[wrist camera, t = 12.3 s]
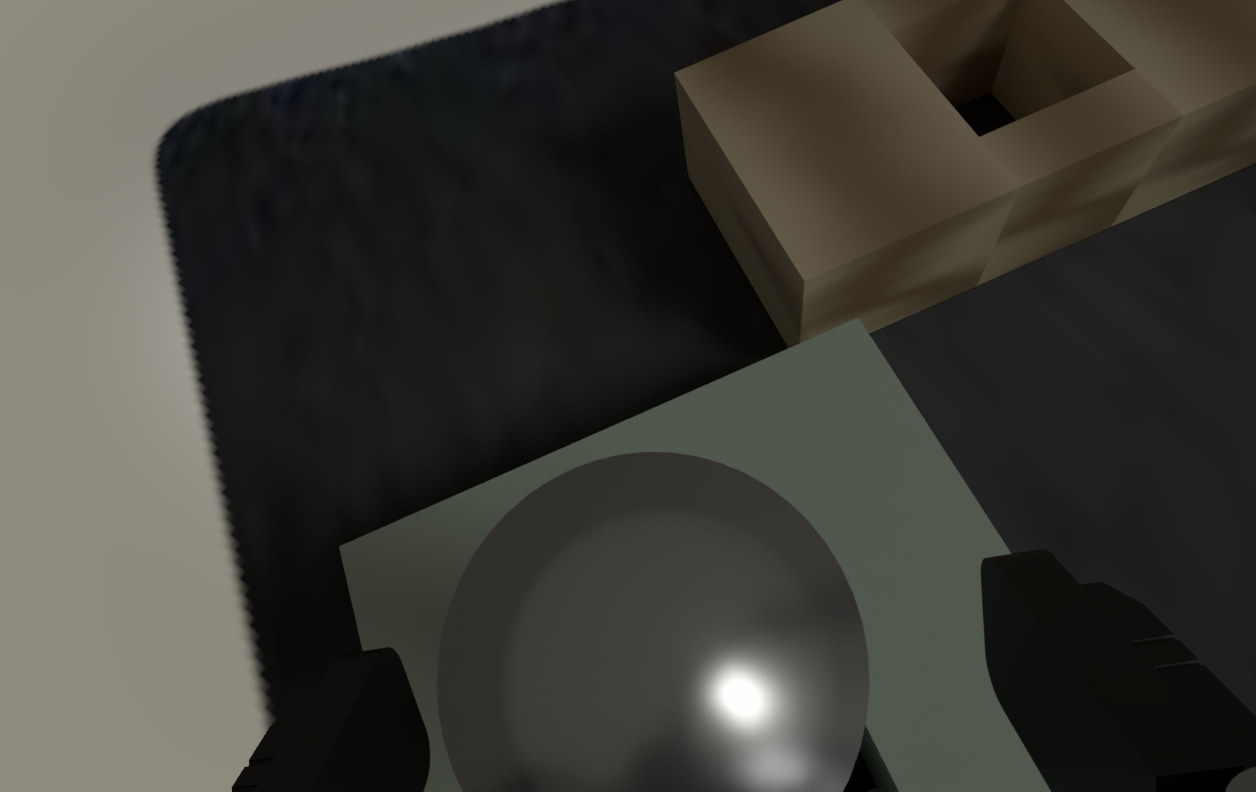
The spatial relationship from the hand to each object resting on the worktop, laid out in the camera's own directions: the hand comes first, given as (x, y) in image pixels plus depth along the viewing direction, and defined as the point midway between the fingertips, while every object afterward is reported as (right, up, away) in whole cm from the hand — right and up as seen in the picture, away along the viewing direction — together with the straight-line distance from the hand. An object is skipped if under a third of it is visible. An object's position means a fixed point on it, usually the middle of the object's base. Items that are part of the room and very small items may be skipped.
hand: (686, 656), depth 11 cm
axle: (+2, -5, +9) cm, 10 cm away
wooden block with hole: (+10, +11, +14) cm, 21 cm away
